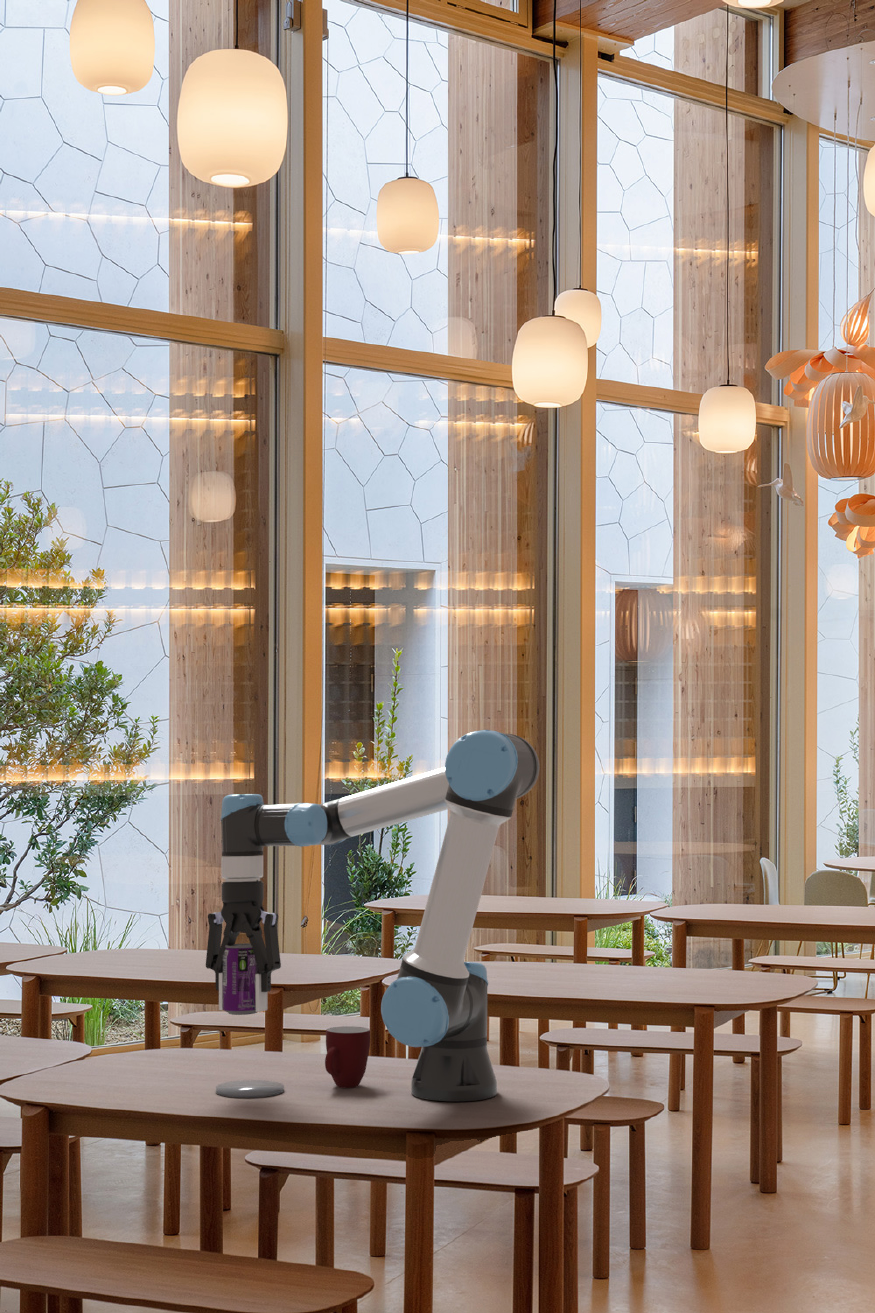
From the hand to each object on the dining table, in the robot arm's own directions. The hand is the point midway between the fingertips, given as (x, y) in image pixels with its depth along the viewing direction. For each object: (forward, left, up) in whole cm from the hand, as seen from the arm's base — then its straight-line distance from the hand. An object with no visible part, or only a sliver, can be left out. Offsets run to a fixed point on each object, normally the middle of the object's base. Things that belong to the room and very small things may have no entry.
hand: (243, 1010), depth 249 cm
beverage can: (0, 0, -1) cm, 1 cm away
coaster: (-1, -1, -14) cm, 14 cm away
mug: (-14, -12, -14) cm, 23 cm away
